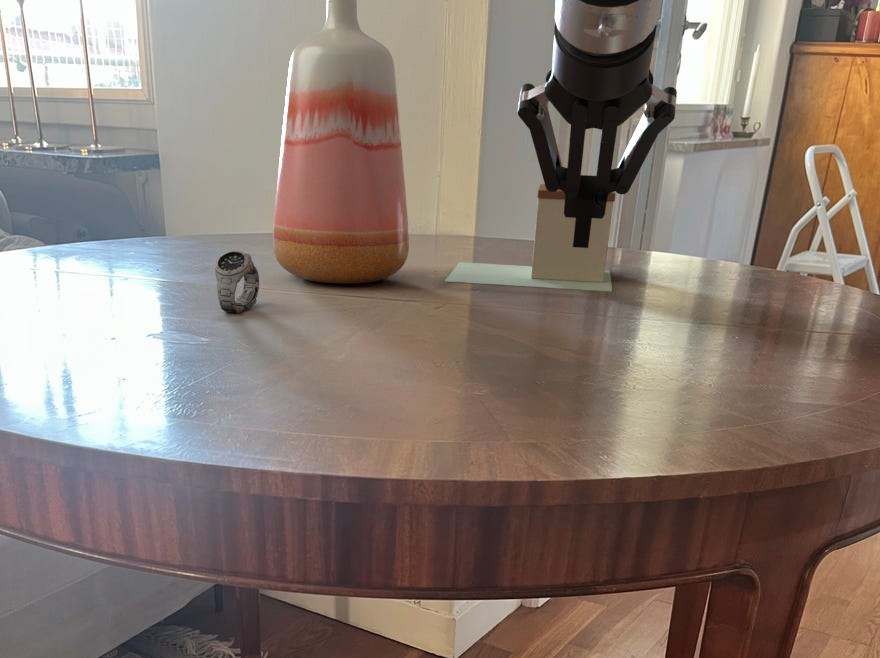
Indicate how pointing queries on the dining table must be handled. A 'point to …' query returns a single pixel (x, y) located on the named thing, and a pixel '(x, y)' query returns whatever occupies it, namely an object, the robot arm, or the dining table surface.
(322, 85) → the vase
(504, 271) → the mat
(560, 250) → the toy box
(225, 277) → the wristwatch
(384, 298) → the dining table surface
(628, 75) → the robot arm
